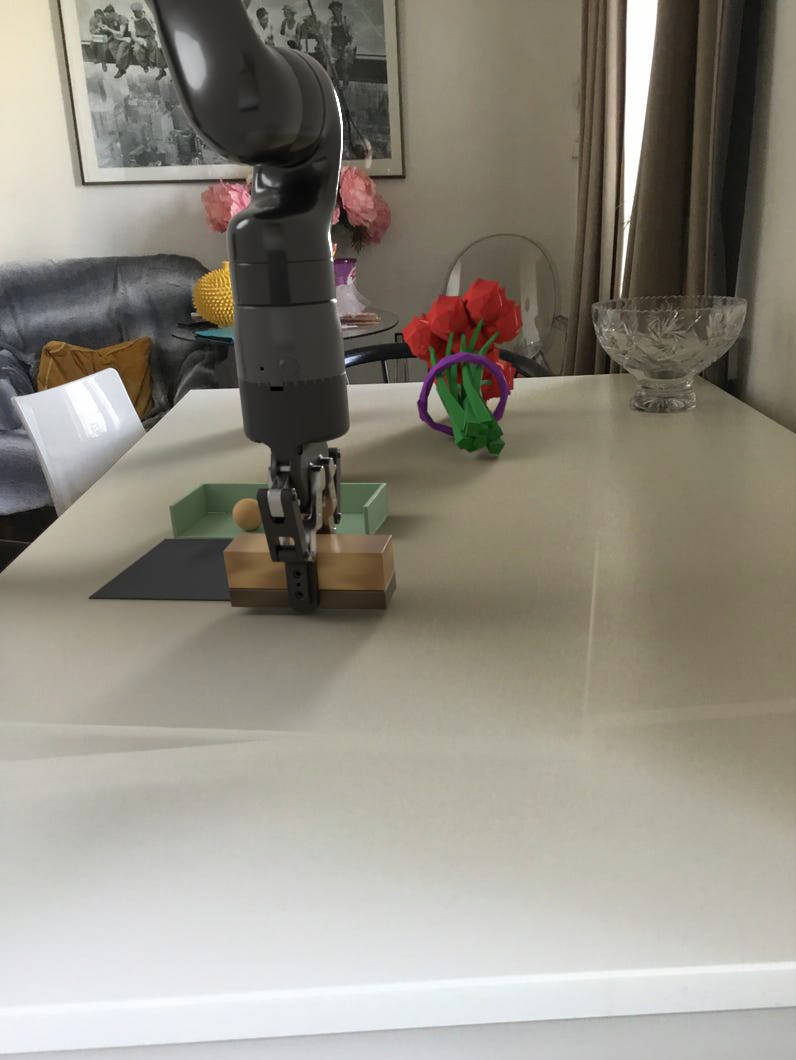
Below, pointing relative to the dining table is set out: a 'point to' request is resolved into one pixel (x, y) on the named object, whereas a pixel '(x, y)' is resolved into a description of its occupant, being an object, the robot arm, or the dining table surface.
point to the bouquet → (467, 361)
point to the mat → (174, 573)
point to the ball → (247, 514)
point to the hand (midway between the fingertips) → (313, 596)
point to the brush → (342, 563)
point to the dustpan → (212, 518)
